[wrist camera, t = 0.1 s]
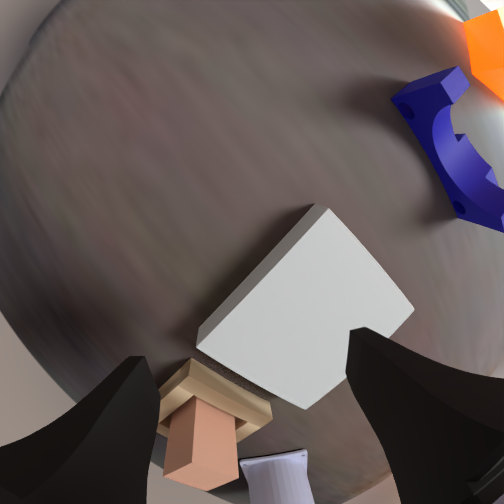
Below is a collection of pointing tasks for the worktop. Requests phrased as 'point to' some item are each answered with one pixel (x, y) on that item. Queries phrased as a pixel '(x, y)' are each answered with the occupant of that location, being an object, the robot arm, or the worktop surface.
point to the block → (201, 446)
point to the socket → (212, 398)
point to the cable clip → (452, 147)
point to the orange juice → (487, 49)
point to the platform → (303, 311)
